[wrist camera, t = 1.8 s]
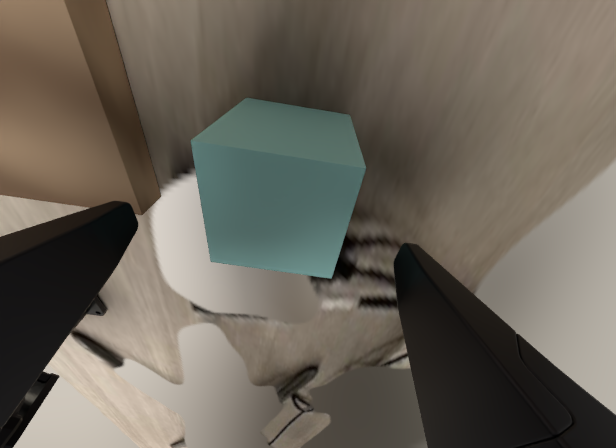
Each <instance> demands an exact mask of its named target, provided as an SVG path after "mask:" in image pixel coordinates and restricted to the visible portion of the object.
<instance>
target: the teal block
mask: <svg viewBox="0 0 616 448" xmlns="http://www.w3.org/2000/svg"><path fill="white" fill-rule="evenodd" d="M191 146H192V152H193V158H194V164H195V170H196V176H197V182H198V188H199V194H200V199H201V206H202V212H203V218H204V224H205V229H206V236H207V242H208V248H209V254H210V260H211V262H217V263H223V264H230V265H238V266H245V267H252V268H259V269H267V270H274V271H281V272H289V273H296V274H303V275H310V276H317V277H325V278H332V275H333V272H334V269H335V266H336V263H337V259H338V256H339V253H340V250H341V247H342V243H343V240H344V237H345V234H346V231H347V228H348V224H349V221H350V218H351V215H352V212H353V209H354V205H355V202H356V199H357V196H358V193H359V189H360V186H361V183H362V180H363V177H364V174H365V170H366V166H365V163H364V159H363V156H362V153H361V150H360V146H359V143H358V140H357V136H356V133H355V130H354V127H353V123H352V120H351V117H350V115H348V114H342V113H336V112H330V111H324V110H318V109H312V108H306V107H300V106H294V105H288V104H282V103H276V102H270V101H264V100H258V99H252V98H245V99H244V100H243V101H241V102H240V103H239V104H237V105H236V106H235V107H234V108H232V109H231V110H230V111H228V112H227V113H226V114H224V115H223V116H222V117H220V118H219V119H218V120H217V121H215V122H214V123H213V124H211V125H210V126H209V127H207V128H206V129H205V130H204V131H202V132H201V133H200V134H198V135H197V136H196V137H194V138H193V139H192V140H191Z"/></svg>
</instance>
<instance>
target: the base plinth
mask: <svg viewBox="0 0 616 448" xmlns="http://www.w3.org/2000/svg"><path fill="white" fill-rule="evenodd" d="M0 195H6V196H13V197H20V198H27V199H34V200H41V201H48V202H55V203H62V204H69V205H76V206H83V207H90V208H92V207H95V206H98V205H101V204H105V203H108V202H111V201H123V202H128V203H130V204H131V206H132V208H133V210H134V213H135V214H138V215H143V214H144V213H145V212H146V211H147V210H148V209H149V208H150V207H151V206H152V205H153V204H154V203H155V202H156V201H157V200H158V199H159V198H160V197H161V194H160V190H159V187H158V183H157V180H156V176H155V173H154V169H153V166H152V162H151V159H150V155H149V152H148V148H147V145H146V141H145V138H144V134H143V131H142V127H141V124H140V120H139V117H138V113H137V110H136V106H135V103H134V99H133V96H132V92H131V89H130V85H129V82H128V78H127V75H126V71H125V68H124V64H123V61H122V57H121V54H120V50H119V46H118V43H117V39H116V36H115V32H114V29H113V25H112V22H111V18H110V15H109V11H108V8H107V4H106V1H105V0H0Z"/></svg>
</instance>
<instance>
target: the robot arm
mask: <svg viewBox="0 0 616 448" xmlns="http://www.w3.org/2000/svg"><path fill="white" fill-rule="evenodd" d="M137 229H138V221H137V218H136V216H135V213H134V210H133V208H132V206H131V204H130V203H128V202H123V201H111V202H108V203H105V204H101V205H98V206H95V207H92V208H89V209H86V210H83V211H80V212H76V213H73V214H70V215H67V216H64V217H61V218H58V219H55V220H51V221H48V222H45V223H42V224H39V225H36V226H33V227H30V228H26V229H23V230H20V231H17V232H14V233H11V234H8V235H5V236H1V237H0V448H13V447H14V445H15V444H16V442H17V441H18V439H19V438H20V436H21V435H22V433H23V432H24V430H25V429H26V427H27V425H28V424H29V423H30V421H31V419H32V418H33V416H34V415H35V413H36V412H37V410H38V409H39V407H40V406H41V404H42V403H43V401H44V399H45V398H46V396H47V395H48V393H49V392H50V390H51V389H52V387H53V386H54V384H55V383H56V381H57V379H58V378H59V375H56V374H53V373H51V374H48V373H46V372H43V370H44V369H45V367H46V366H47V364H48V363H49V362H50V360H51V359H52V357H53V356H54V355H55V353H56V352H57V350H58V349H59V348H60V346H61V345H62V343H63V342H64V340H65V339H66V338H67V336H68V335H69V334H70V333H71V332H72V330H73V329H74V328H75V327H76V326H77V325H78V323H79V322H80V321H81V320H82V319H83V318H84V316H85V315H86V314H91V315H99V316H103V315H104V314H105V313H106V311H107V310H106V309H105V307H104V306H103V304H102V303H101V301H100V300H99V298H98V297H97V296H96V295H97V294H98V293H99V291H100V290H101V288H102V287H103V286H104V284H105V283H106V281H107V280H108V279H109V277H110V276H111V274H112V273H113V271H114V270H115V268H116V267H117V265H118V263H119V262H120V260H121V258H122V256H123V254H124V253H125V251H126V249H127V247H128V245H129V244H130V242H131V240H132V238H133V236H134V235H135V233H136V231H137ZM394 274H395V285H396V295H397V304H398V310H399V315H400V320H401V325H402V329H403V334H404V339H405V343H406V348H407V353H408V357H409V362H410V367H411V371H412V376H413V381H414V385H415V390H416V394H417V399H418V404H419V409H420V413H421V418H422V423H423V427H424V432H425V437H426V441H427V446H428V448H616V415H615V414H614V413H612V412H611V411H610V410H609V409H607V408H606V407H605V406H604V405H603V404H601V403H600V402H599V401H598V400H596V399H595V398H594V397H593V396H591V395H590V394H589V393H588V392H586V391H585V390H584V389H583V388H582V387H580V386H579V385H578V384H576V383H575V382H574V381H573V380H572V379H571V378H569V377H568V376H567V375H565V374H564V373H563V372H562V371H561V370H560V369H558V368H557V367H556V366H554V365H553V364H552V363H551V362H550V361H549V360H548V359H547V358H545V357H544V356H543V355H542V354H541V353H540V352H538V351H537V350H536V349H535V348H534V347H533V346H532V345H530V344H529V343H528V342H527V341H526V340H525V339H524V338H522V337H521V336H520V335H519V334H516V332H515V331H514V330H513V329H512V328H511V327H510V326H509V325H508V324H507V323H505V322H504V321H503V320H502V319H501V318H500V317H499V316H498V315H496V314H495V313H494V312H493V311H492V310H491V309H490V308H488V307H487V306H486V305H485V304H484V303H483V302H482V301H481V300H479V299H478V298H477V297H476V296H475V295H474V294H473V293H472V292H470V291H469V290H468V289H467V288H466V287H465V286H464V285H462V284H461V283H460V282H459V281H458V280H457V279H456V278H455V277H453V276H452V275H451V274H450V273H449V272H448V271H447V270H446V269H444V268H443V267H442V266H441V265H440V264H439V263H438V262H436V261H435V260H434V259H433V258H432V257H431V256H430V255H429V254H427V253H426V252H425V251H424V250H423V249H422V248H421V247H419V246H418V245H417V244H412V243H404V244H403V245H402V246H401V248H400V250H399V252H398V254H397V256H396V258H395V260H394Z"/></svg>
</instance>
